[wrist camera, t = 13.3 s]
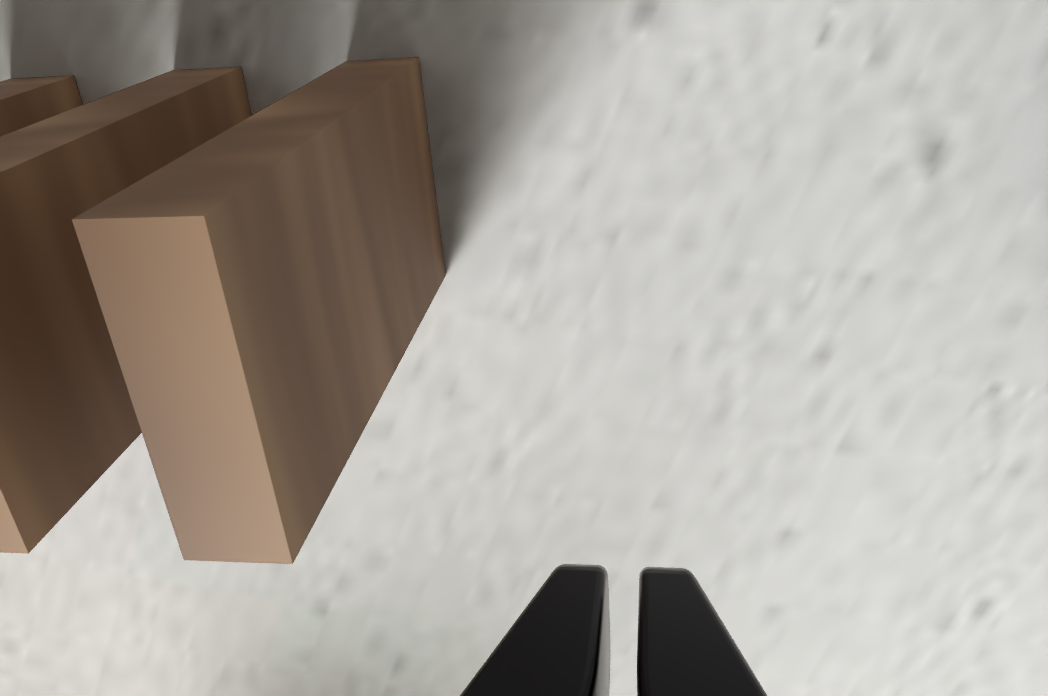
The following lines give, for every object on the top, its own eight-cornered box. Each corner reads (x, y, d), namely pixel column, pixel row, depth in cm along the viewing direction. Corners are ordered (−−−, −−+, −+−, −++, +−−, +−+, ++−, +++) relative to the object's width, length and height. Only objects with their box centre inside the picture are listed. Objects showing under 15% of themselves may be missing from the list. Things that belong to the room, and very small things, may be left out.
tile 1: (418, 57, 18) (204, 216, 10) (445, 275, 21) (292, 563, 12) (346, 61, 18) (71, 219, 10) (380, 276, 21) (183, 559, 12)
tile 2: (240, 66, 19) (-116, 223, 10) (286, 277, 21) (28, 552, 12) (172, 70, 19) (-233, 226, 10) (224, 278, 21) (-70, 549, 13)
